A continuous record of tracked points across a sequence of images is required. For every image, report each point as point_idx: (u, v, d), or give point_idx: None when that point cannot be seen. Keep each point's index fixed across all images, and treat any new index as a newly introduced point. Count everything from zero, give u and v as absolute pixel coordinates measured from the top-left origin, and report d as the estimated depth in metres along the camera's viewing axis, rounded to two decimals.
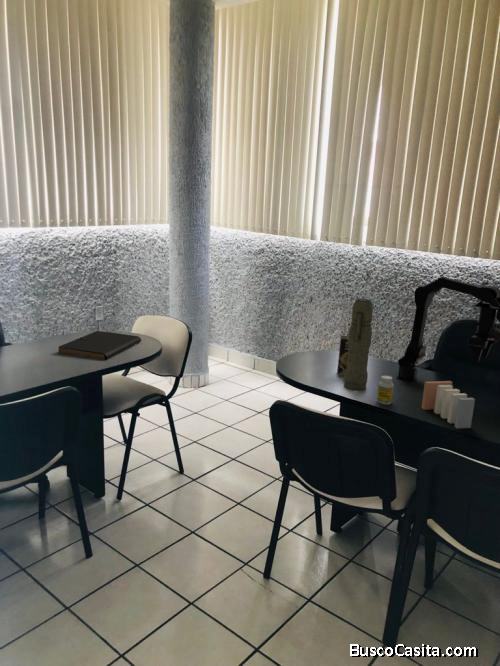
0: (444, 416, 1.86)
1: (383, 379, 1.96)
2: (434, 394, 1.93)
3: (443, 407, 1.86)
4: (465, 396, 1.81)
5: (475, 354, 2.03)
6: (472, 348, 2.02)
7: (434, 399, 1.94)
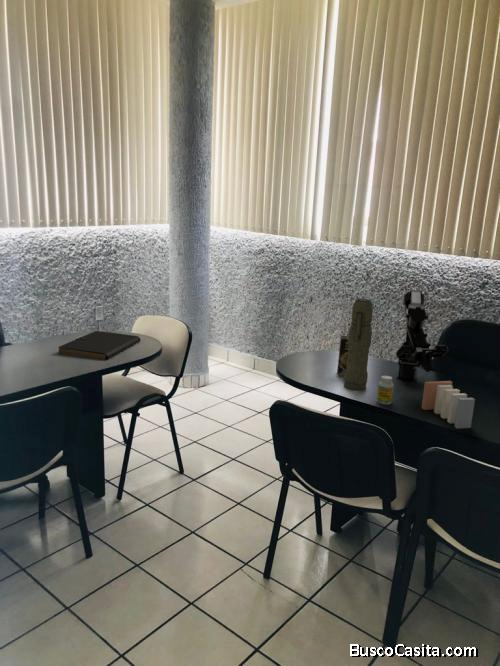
0: (444, 416, 1.86)
1: (383, 379, 1.96)
2: (434, 394, 1.93)
3: (443, 407, 1.86)
4: (465, 396, 1.81)
5: None
6: None
7: (434, 399, 1.94)
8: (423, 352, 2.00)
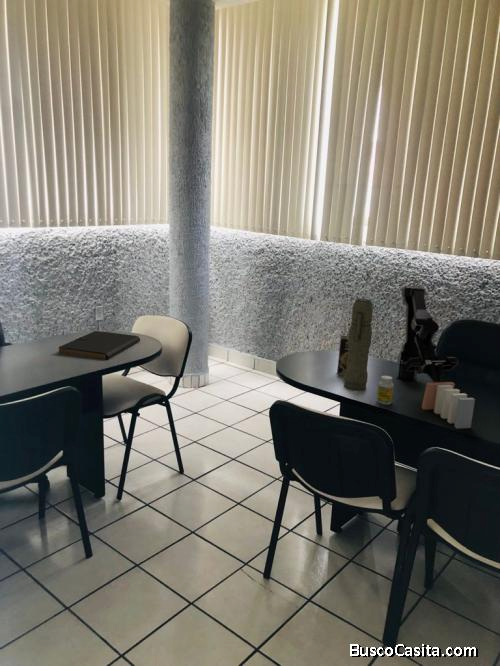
0: (444, 416, 1.86)
1: (383, 379, 1.96)
2: (435, 395, 1.92)
3: (443, 407, 1.86)
4: (465, 396, 1.81)
5: None
6: None
7: (435, 400, 1.93)
8: (433, 365, 1.94)
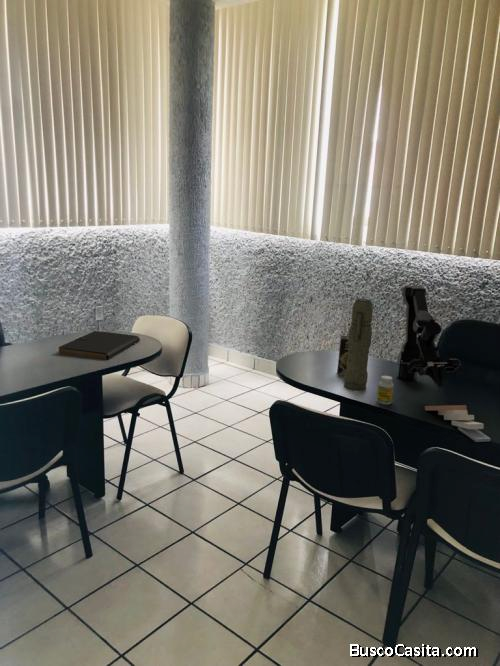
0: (446, 419, 1.85)
1: (383, 379, 1.96)
2: None
3: (449, 418, 1.82)
4: (480, 428, 1.73)
5: None
6: None
7: None
8: (435, 367, 1.93)
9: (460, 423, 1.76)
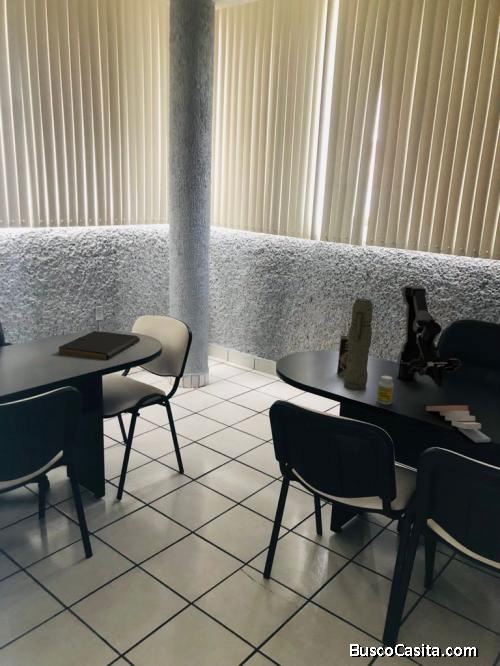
0: None
1: (383, 379, 1.96)
2: None
3: (451, 418, 1.81)
4: (478, 428, 1.71)
5: None
6: None
7: None
8: (435, 367, 1.93)
9: (458, 423, 1.75)
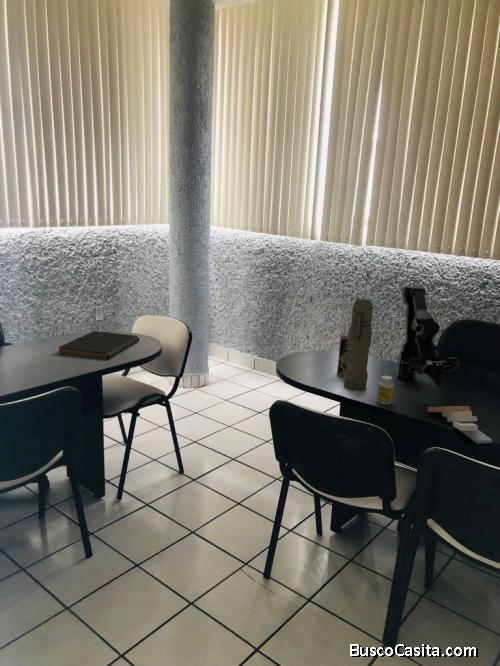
0: (449, 421, 1.83)
1: (383, 379, 1.96)
2: None
3: (452, 419, 1.80)
4: None
5: None
6: None
7: None
8: (433, 365, 1.93)
9: (457, 424, 1.74)
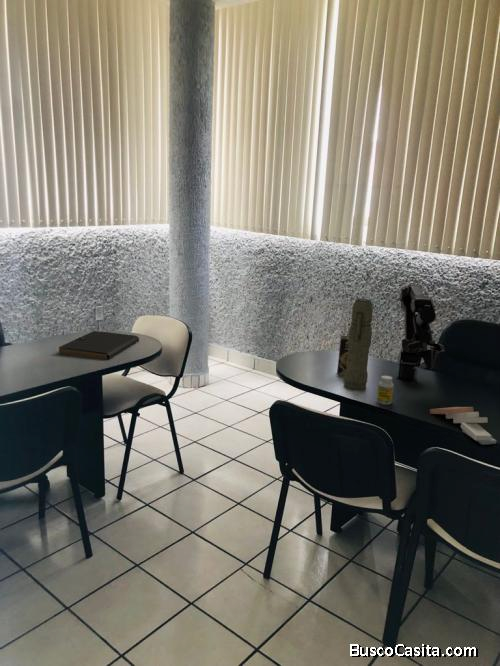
0: None
1: (383, 379, 1.96)
2: None
3: (461, 420, 1.78)
4: None
5: None
6: None
7: None
8: (432, 351, 2.01)
9: (468, 430, 1.72)
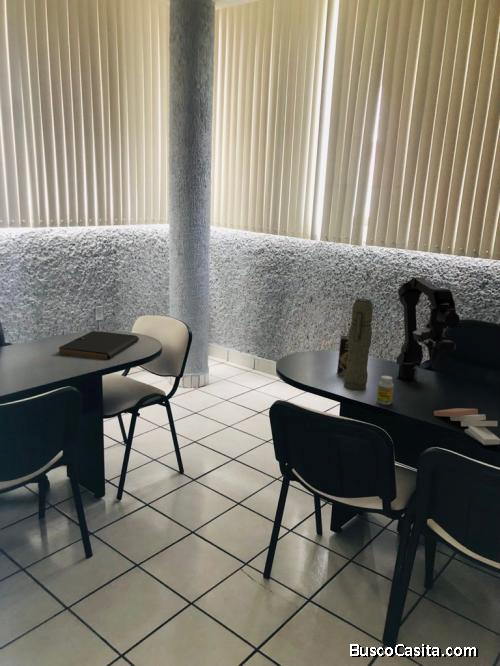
0: None
1: (383, 379, 1.96)
2: None
3: (470, 424, 1.75)
4: None
5: None
6: None
7: None
8: None
9: (476, 433, 1.69)
